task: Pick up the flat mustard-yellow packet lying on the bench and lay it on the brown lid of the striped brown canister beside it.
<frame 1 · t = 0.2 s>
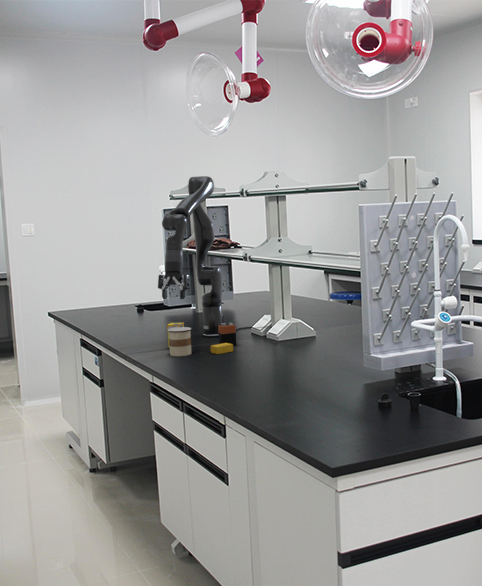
hand: (173, 299, 299), 22 cm above the counter, tool pointing down, fingers open, 8 cm apart
striped brown canister: (180, 354, 295), on the counter
packet: (222, 351, 296), on the counter
supplement box: (176, 348, 308), on the counter
battery: (227, 345, 310), on the counter
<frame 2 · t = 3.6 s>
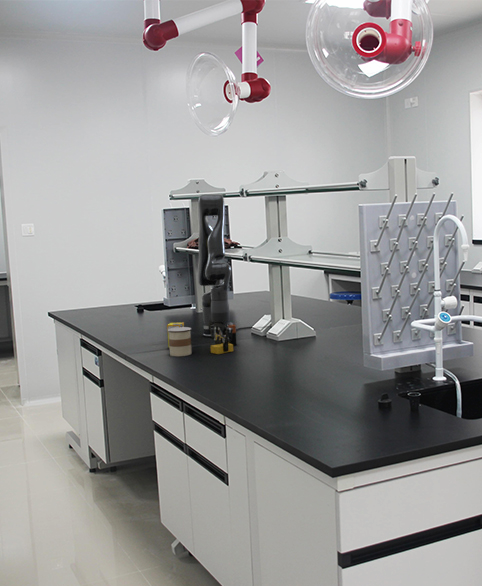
hand: (222, 350, 296), 1 cm above the counter, tool pointing down, fingers closed on packet, 5 cm apart
packet: (222, 351, 296), on the counter, touching gripper
everything else where it was.
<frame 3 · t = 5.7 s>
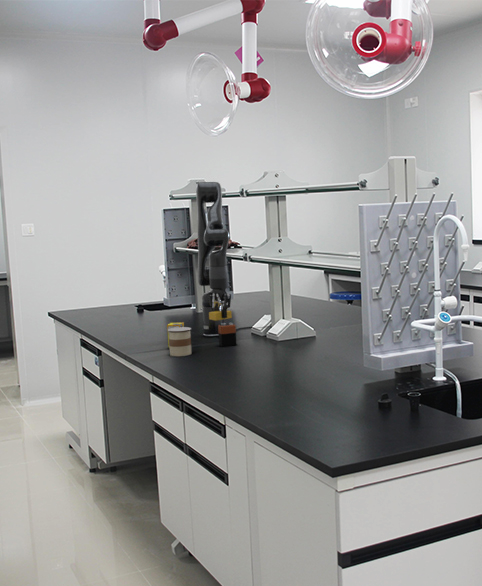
hand: (220, 317, 295), 15 cm above the counter, tool pointing down, fingers closed on packet, 5 cm apart
packet: (220, 318, 295), point 14 cm above the counter, touching gripper
everything else where it was.
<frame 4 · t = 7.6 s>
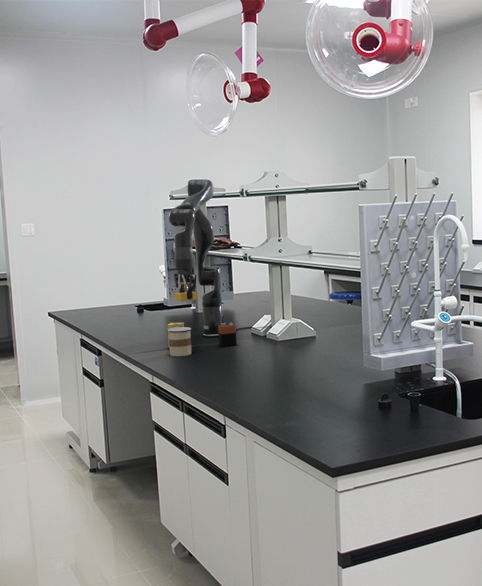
hand: (186, 298, 292), 23 cm above the counter, tool pointing down, fingers closed on packet, 5 cm apart
packet: (186, 299, 292), point 23 cm above the counter, touching gripper
everything else where it was.
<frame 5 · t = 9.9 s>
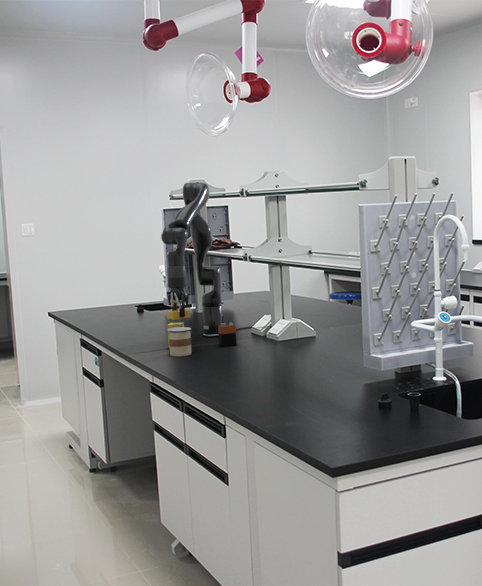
hand: (178, 316, 293), 16 cm above the counter, tool pointing down, fingers closed on packet, 5 cm apart
packet: (178, 317, 293), point 15 cm above the counter, touching gripper
everything else where it was.
when the fingers open (11 cm above the counter, at t = 11.7 s): packet stays where it is, resting on striped brown canister.
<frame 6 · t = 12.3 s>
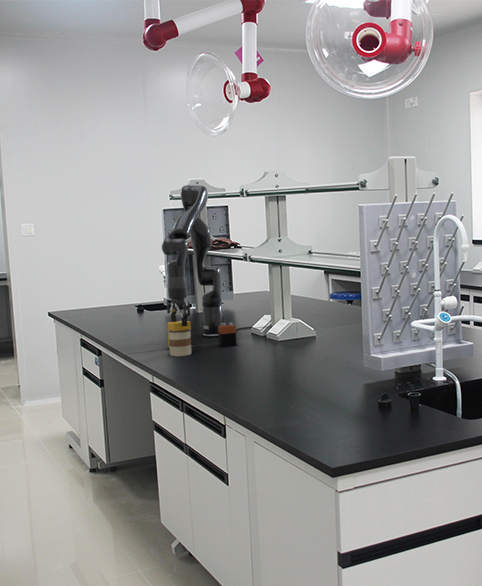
hand: (179, 325, 293), 12 cm above the counter, tool pointing down, fingers open, 8 cm apart
packet: (179, 329, 293), point 11 cm above the counter, touching striped brown canister
everything else where it was.
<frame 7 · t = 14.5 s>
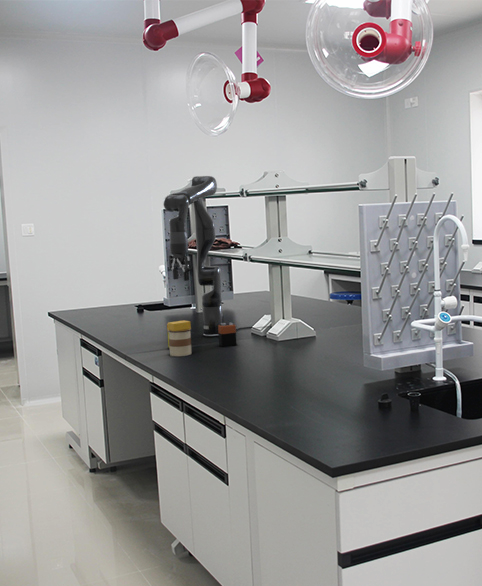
hand: (181, 279, 302), 30 cm above the counter, tool pointing down, fingers open, 8 cm apart
nothing on the counter moved.
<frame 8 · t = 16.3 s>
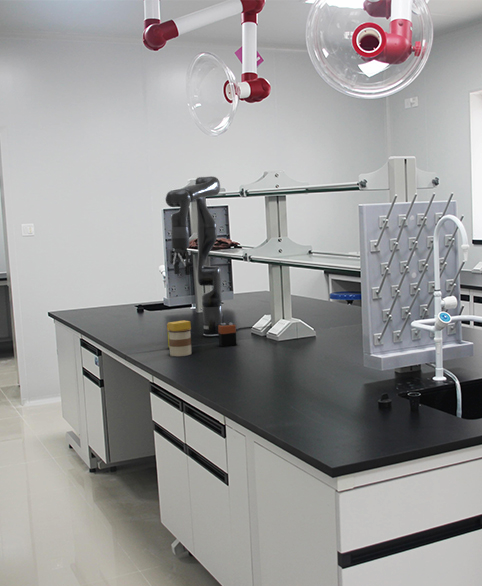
hand: (182, 274, 306), 32 cm above the counter, tool pointing down, fingers open, 8 cm apart
nothing on the counter moved.
at the end: packet 0.0 cm off-centre on the striped brown canister, point 10.6 cm above the striped brown canister's base; packet tilted 0°; the gripper is holding nothing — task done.
